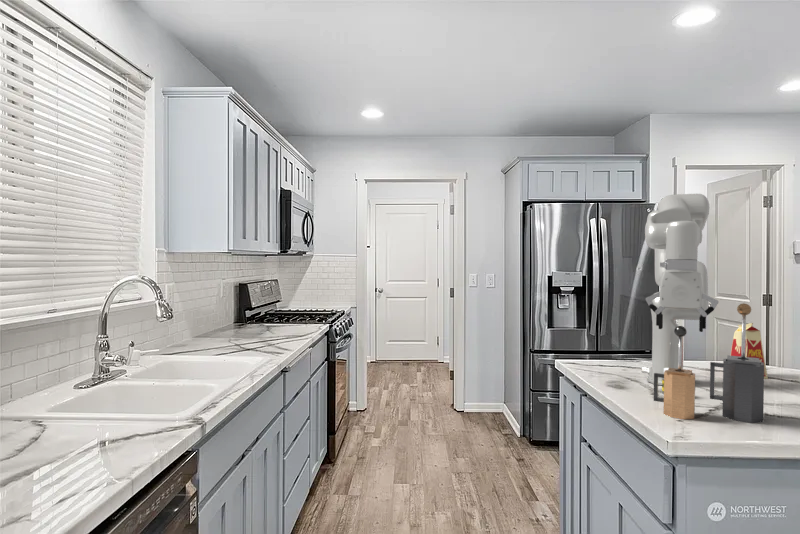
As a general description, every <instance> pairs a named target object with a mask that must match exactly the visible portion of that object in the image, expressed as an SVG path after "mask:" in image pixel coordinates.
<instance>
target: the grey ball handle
mask: <svg viewBox="0 0 800 534" xmlns="http://www.w3.org/2000/svg"><path fill="white" fill-rule="evenodd" d="M674 333H675V335H676V336H678V337H679V340H678V371H680V372H681V363H682V337H683V338H684V337H685V336H686V335H687V329H686V327H685V326H683V325H678V326H677V327H676V328H675V329H674Z"/></svg>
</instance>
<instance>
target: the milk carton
mask: <svg viewBox="0 0 800 534" xmlns="http://www.w3.org/2000/svg"><path fill="white" fill-rule="evenodd" d="M753 325H754V322H750V323H746V348H745V357H751V358H759V360H760V362H763V363H764V380H769V378H768V372H767V367H766V360H765V354H764V347H763V341H762V335H761V330H760V329H758V328H756V327H754V326H753ZM737 326H738V328H737V329H736V330H735V331H734V333H733V337H732V343H731V349H730V356H740V357H741V345H742V324H737Z"/></svg>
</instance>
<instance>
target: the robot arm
mask: <svg viewBox="0 0 800 534" xmlns="http://www.w3.org/2000/svg"><path fill="white" fill-rule="evenodd" d="M709 214H710V203H709V200H708V198H707V196H706V195H704V194H702V193H681V194H680V193H679V194H678V193H677V194H669V195H665V196H664V197H662V198H661V199H660V200H659V202H658V204H657V209H656V210H653V211H651V212H649V213H648V215H647V218H646V223H645V228H644V234H645V237H644V238H645V243H646V245H647V246H648V248H650V249H652V250H654V281H655V283H656V285H657V286H658V287H659V291H657V292H654V293H653V294H651V295H649V296H647V297H645V301H646V303H647V304H648V306H649V307H648V308H649V309H650V313H651V321H652V325H651V326H652V335H651V336H652V339H651V340H652V345H651V348H652V349H651V367H648V366H647V367H646V366H642V367H641V374H647V375H648V376H647V377H646V381H647V382H649V383H650V384H653V385H654V373H660V374H664V368H676V369H678V340H679V337H678V336H676V335H675V333H674V329H675V328H676V327H677V326H679V324H678V323H677V322H676V320H678V321H679V320H680V321H681V320H682V321H683V320H684V321H686V320H687V321H699V324H698V327H699V328H698V331H699V332H700V333H703V332H704V330H705V329H707V316H709V315H710V314H711V313H712V312H713V311H714V310H715V309H716V308H717V306H718V304H719V300H718V299H716V298H713V297H711V296H710V295H709V281H708V280H709V279H708V278H709V276H708V270H707V267H706V265H705V263H704V262H702V261H698V255H699V254H698V253H699V252H698V251H699V250H698V247H699V245H700V244H702V241H703V231H704V229H705V226H706V223H707V220H708V217H709ZM709 303H710V306H709ZM681 369H684V336H683V337H682V363H681ZM658 386H662V378H661V377H658Z"/></svg>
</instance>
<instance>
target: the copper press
mask: <svg viewBox="0 0 800 534" xmlns="http://www.w3.org/2000/svg"><path fill="white" fill-rule="evenodd" d="M658 377H661V378H664V396H663V397H659V396H658V395H659V385H658ZM695 400H696V373H694V372H693V370H692V369H684V368H683V369H681V372H680V371H678V369H676V368H669V369H668V370H665V372H664V374H660V373H654V384H653V402H659V403H660V402H662V403H663V415H664V414H665V416H667V415H668V416H667V417H669V416H670V417H669V418H672V417H673V419H678V418H679V419H680V420H694V419H695V410H696V401H695Z"/></svg>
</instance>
